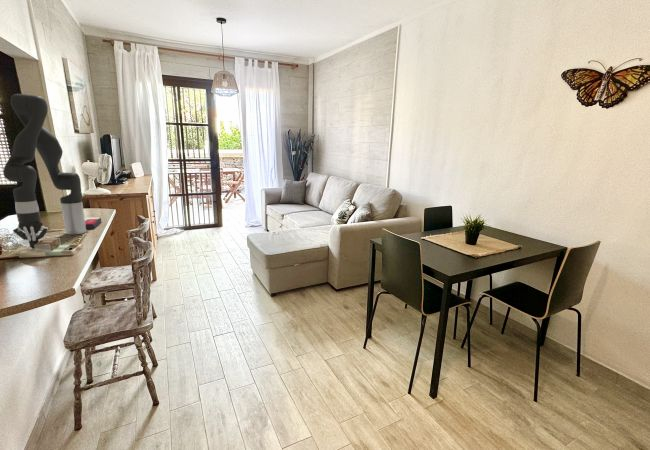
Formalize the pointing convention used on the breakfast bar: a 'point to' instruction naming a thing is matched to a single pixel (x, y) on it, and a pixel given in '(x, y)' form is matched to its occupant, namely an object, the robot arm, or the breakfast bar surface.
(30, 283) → the breakfast bar surface
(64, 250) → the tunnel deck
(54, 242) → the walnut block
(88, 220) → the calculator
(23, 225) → the robot arm
